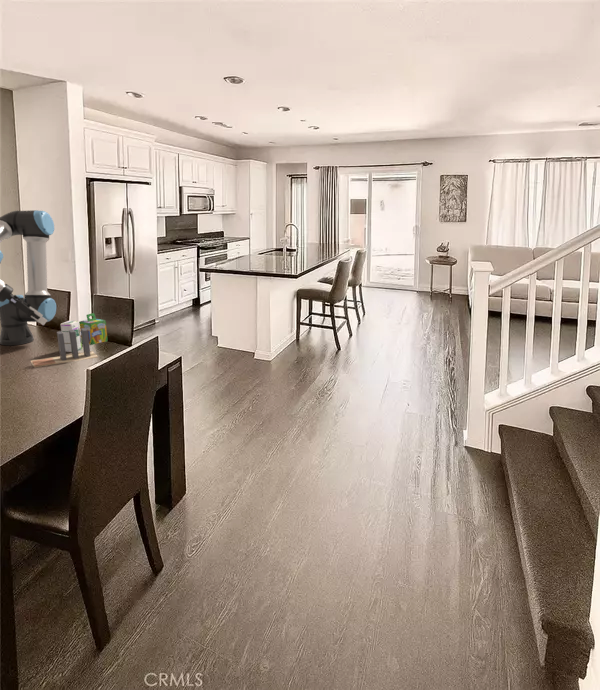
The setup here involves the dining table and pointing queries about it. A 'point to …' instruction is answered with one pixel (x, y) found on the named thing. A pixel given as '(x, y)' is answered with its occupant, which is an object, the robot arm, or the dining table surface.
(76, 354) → the domino
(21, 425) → the dining table surface
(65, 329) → the syrup box
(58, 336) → the domino
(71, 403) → the dining table surface
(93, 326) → the chalk box
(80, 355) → the birch board
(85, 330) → the domino
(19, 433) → the dining table surface
